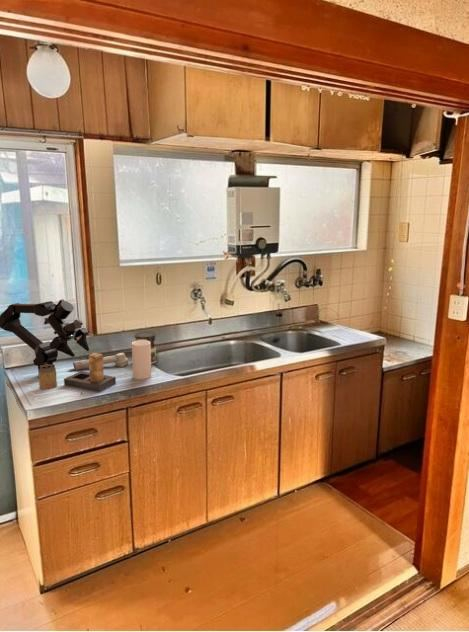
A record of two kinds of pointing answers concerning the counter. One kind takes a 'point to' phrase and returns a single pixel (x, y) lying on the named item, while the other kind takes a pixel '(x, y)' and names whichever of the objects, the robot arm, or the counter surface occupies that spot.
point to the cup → (141, 359)
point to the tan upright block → (47, 377)
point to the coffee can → (150, 337)
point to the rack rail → (89, 382)
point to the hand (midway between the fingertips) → (81, 353)
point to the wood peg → (96, 367)
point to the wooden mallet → (118, 359)
